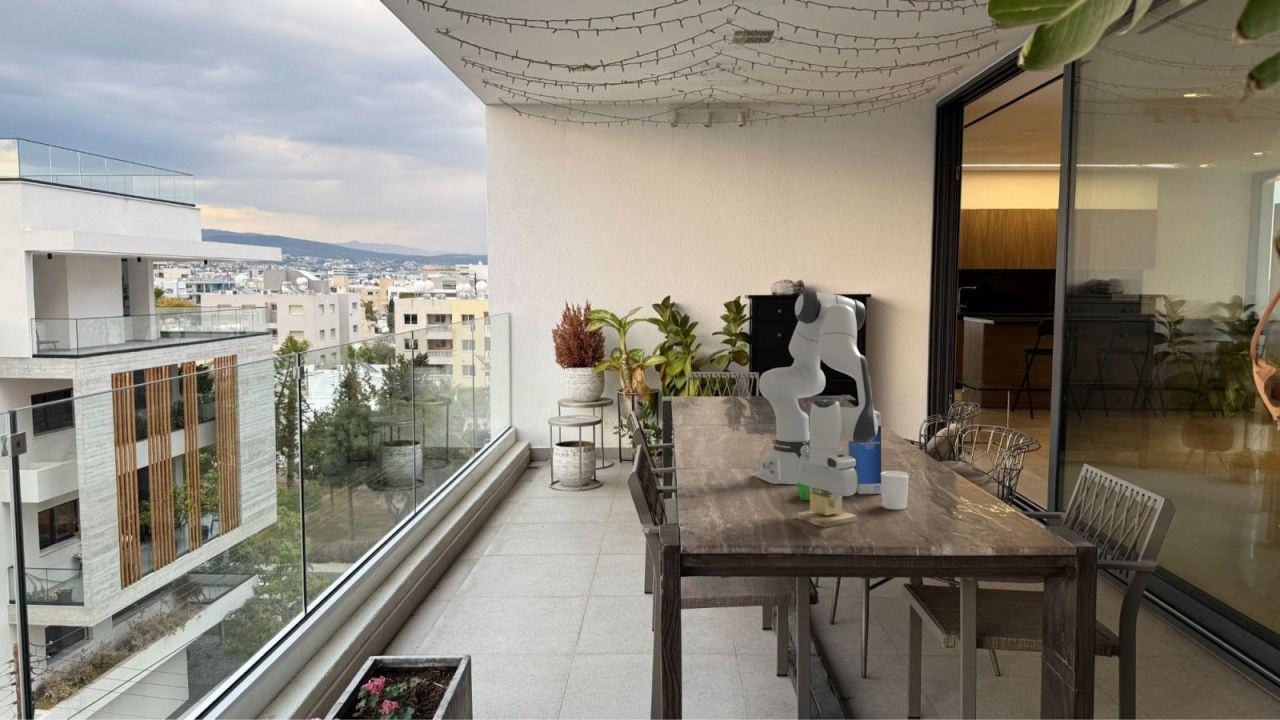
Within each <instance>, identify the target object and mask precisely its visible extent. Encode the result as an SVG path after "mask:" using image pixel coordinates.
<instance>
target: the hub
mask: <svg viewBox="0 0 1280 720" xmlns="http://www.w3.org/2000/svg"><path fill="white" fill-rule="evenodd" d="M834 499H835V497H834V493H832V492H830V495H828V496H824V495H822V491H819V492H814V493H810V501H809V510H810V511H813V512H816V513H819V514H823V515H830V514H834V513H839V512H842V511H843V498H842V499H841V501H840V507H839V508H838V509H834V508H832V507H831V502H833V501H834Z"/></svg>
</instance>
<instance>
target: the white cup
mask: <svg viewBox="0 0 1280 720" xmlns="http://www.w3.org/2000/svg"><path fill="white" fill-rule="evenodd" d="M881 490H882V494H881V498H882V507H883V508H884V509H887V510H892V511H893V510H905V509H907V505H908V493H909V473H908V472H906V471H900V470H886V471H885V470H884V471H881Z"/></svg>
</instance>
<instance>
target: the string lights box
mask: <svg viewBox="0 0 1280 720" xmlns="http://www.w3.org/2000/svg"><path fill="white" fill-rule="evenodd" d="M874 411H875V414H876V417H877V422H878V431H877V435H876V437H874V438H873V439H872V440H871V441H869V442H868V443H859V442H854V441H847V442H848V455H850V456H851V457H853V458H854V459H855V461H856V465H855V466H853V468H854V469H855V472H856V484H857V485H856V492H855V493H858V495H877V494H879V495H880V494H881V495H882V490H881V472H882V412H879V411H877V410H875V409H874Z"/></svg>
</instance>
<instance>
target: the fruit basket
mask: <svg viewBox="0 0 1280 720" xmlns="http://www.w3.org/2000/svg"><path fill="white" fill-rule="evenodd" d="M795 485H796V488H797V489H798V490H797V491H798V494H799V497H800V500H801V501H807V500H809V501H808V502H810V493H811V492H810V490H809V486H806V485H803V484H800V483H797V484H795ZM819 491H822V490H821V489H818V490H817V492H819Z"/></svg>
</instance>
